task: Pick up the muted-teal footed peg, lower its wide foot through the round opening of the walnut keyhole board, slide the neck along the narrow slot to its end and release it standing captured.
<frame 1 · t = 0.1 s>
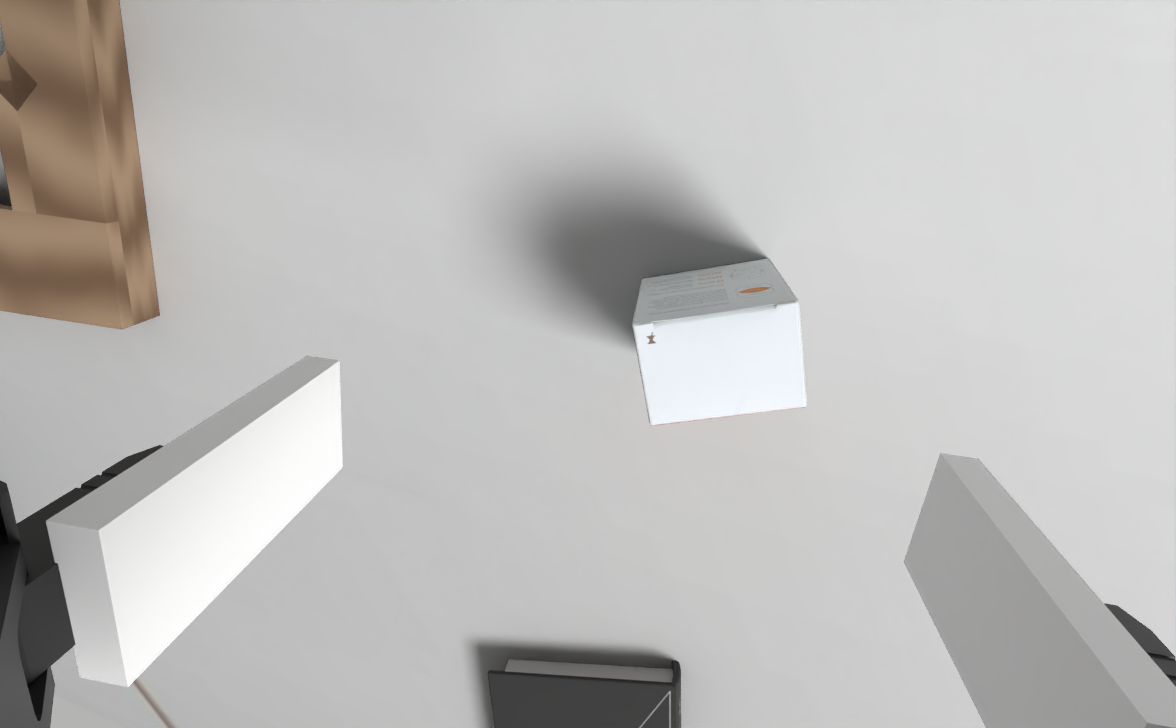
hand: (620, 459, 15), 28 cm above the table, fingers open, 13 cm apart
small box: (710, 308, 42), on the table
keyhole board: (3, 88, 43), on the table
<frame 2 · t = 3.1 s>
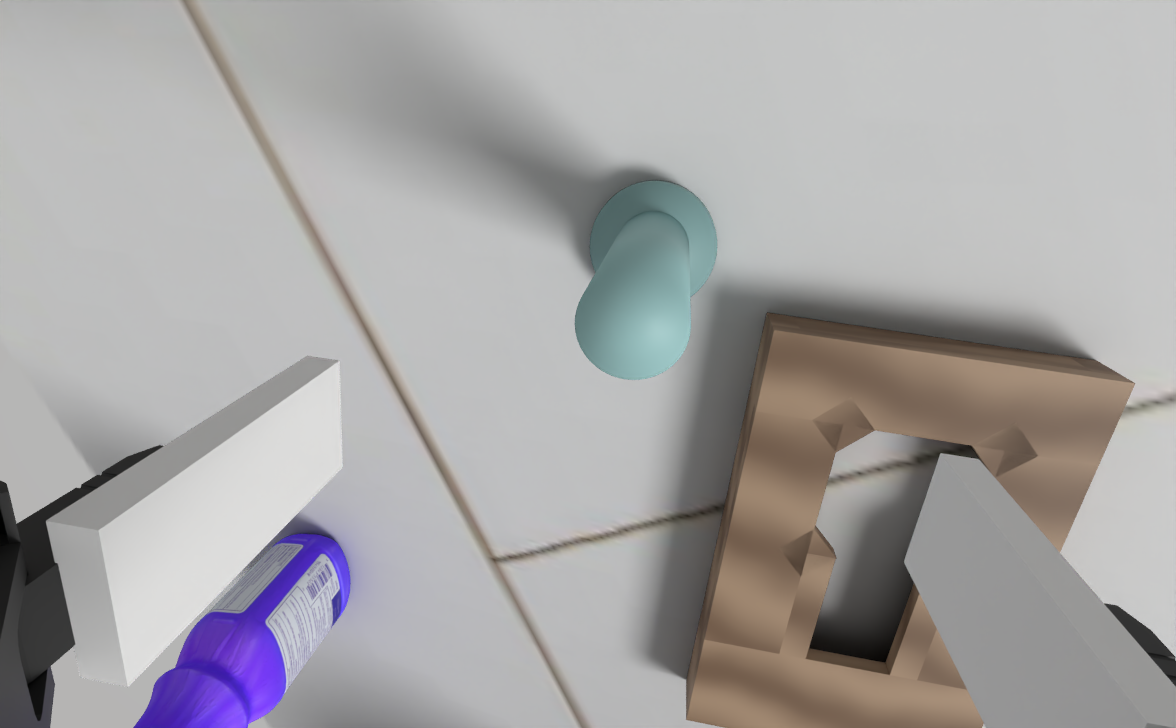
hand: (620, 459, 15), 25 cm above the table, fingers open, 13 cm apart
bottle: (320, 563, 50), on the table
peg: (653, 244, 38), on the table
keyhole board: (863, 542, 42), on the table
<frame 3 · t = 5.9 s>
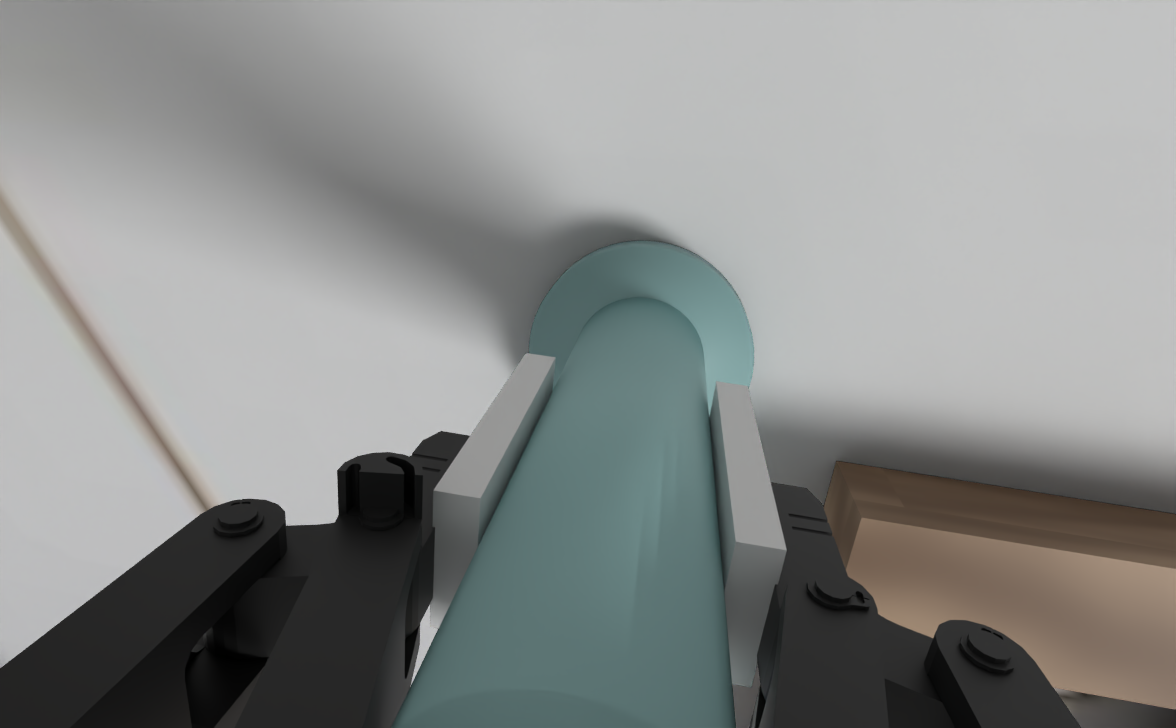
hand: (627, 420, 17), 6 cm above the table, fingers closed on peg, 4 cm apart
peg: (641, 347, 22), on the table, touching gripper
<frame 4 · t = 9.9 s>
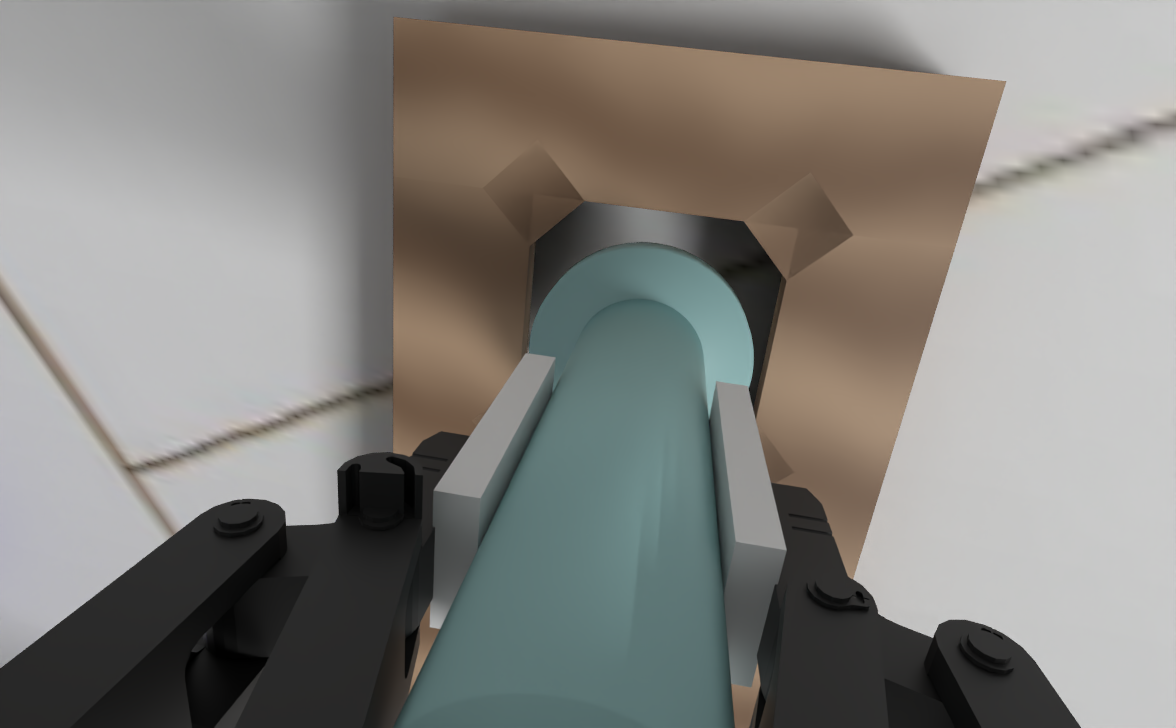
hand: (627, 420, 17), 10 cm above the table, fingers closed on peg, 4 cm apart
peg: (641, 348, 22), point 4 cm above the table, touching gripper
keyhole board: (633, 424, 28), on the table
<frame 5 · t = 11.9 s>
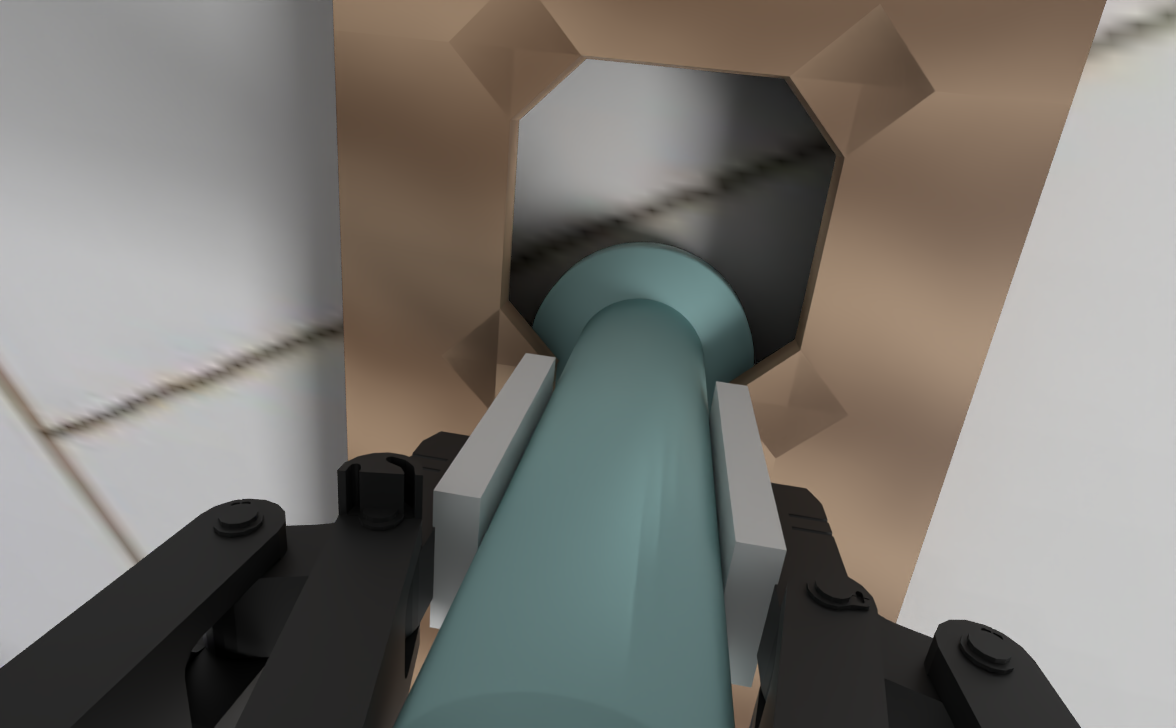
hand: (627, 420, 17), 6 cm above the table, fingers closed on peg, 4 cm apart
peg: (641, 348, 22), point 1 cm above the table, touching gripper
keyhole board: (642, 367, 23), on the table
when the fingers open (6 cm above the table, at t = 14.0 s): peg stays where it is, resting in keyhole board.
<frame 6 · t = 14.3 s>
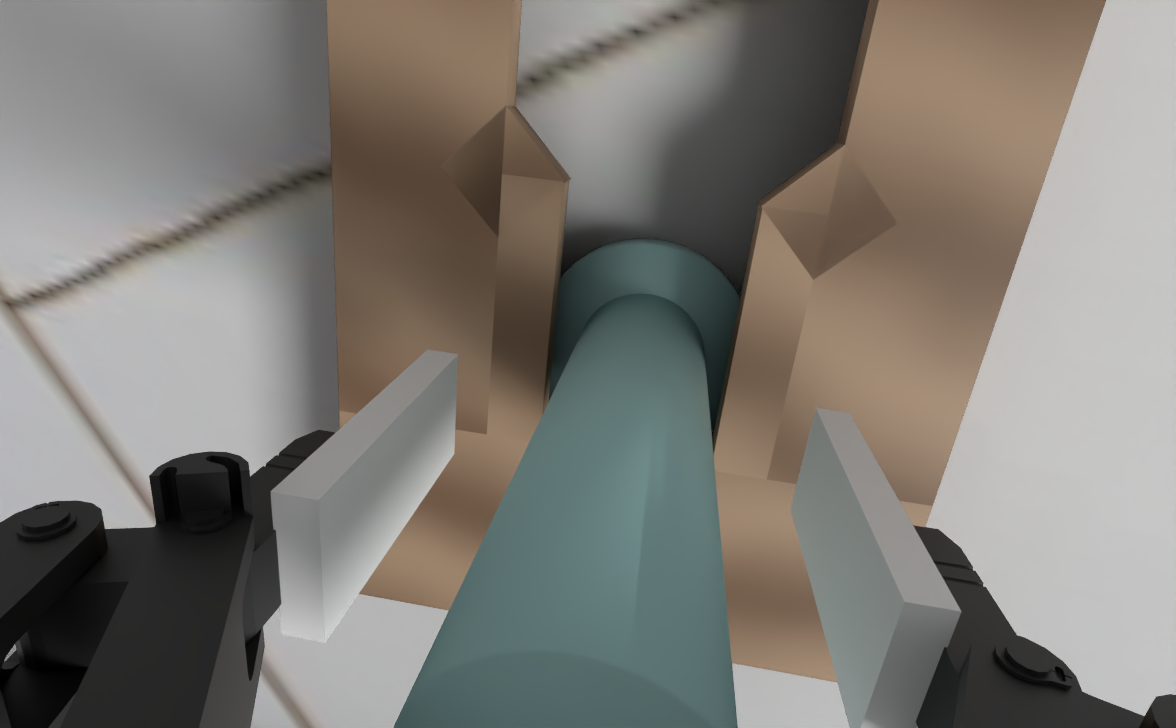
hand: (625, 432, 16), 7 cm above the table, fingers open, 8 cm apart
peg: (642, 343, 22), resting in keyhole board
keyhole board: (661, 207, 21), on the table
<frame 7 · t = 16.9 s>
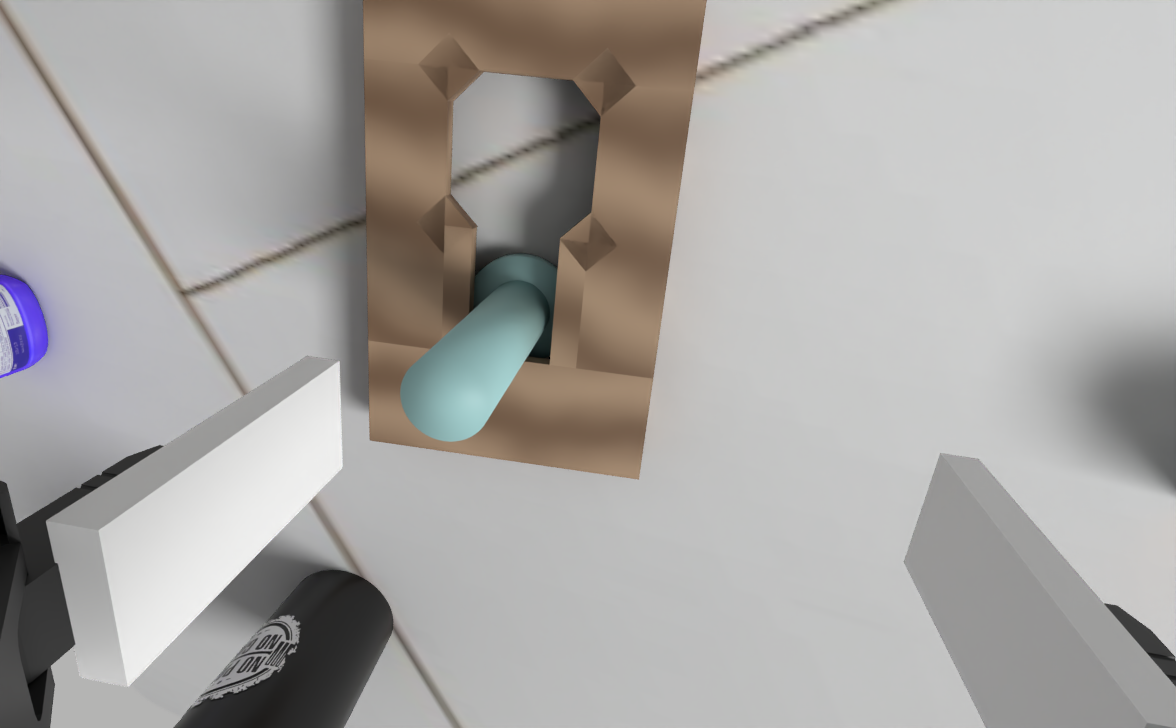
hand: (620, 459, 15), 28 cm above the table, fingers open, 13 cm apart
bottle: (19, 315, 48), on the table
water bottle: (344, 612, 54), on the table
peg: (522, 306, 44), resting in keyhole board
keyhole board: (526, 237, 42), on the table
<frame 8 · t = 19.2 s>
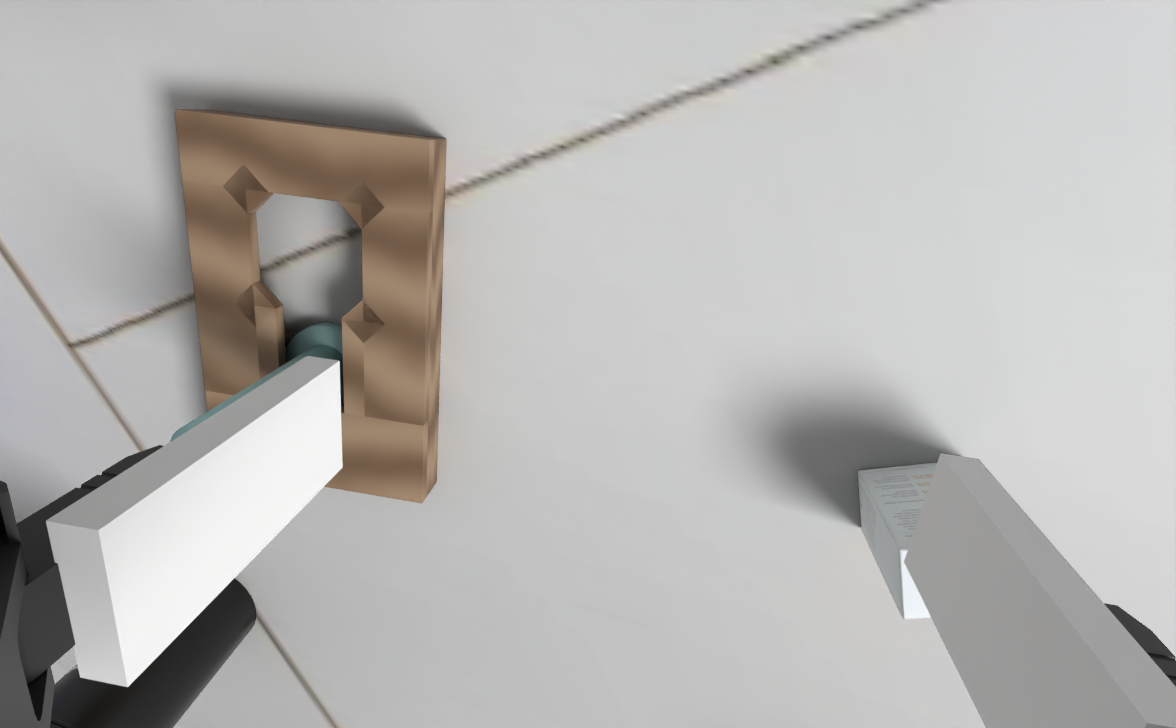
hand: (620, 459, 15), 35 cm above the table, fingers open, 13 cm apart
small box: (911, 493, 52), on the table
water bottle: (217, 602, 65), on the table
peg: (333, 363, 54), resting in keyhole board
keyhole board: (331, 310, 53), on the table
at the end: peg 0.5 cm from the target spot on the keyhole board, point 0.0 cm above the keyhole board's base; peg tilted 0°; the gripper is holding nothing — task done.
